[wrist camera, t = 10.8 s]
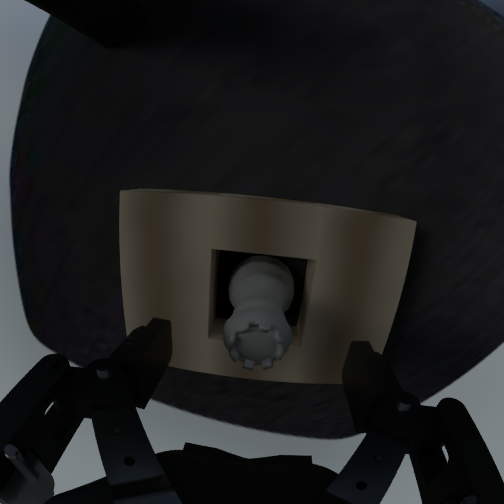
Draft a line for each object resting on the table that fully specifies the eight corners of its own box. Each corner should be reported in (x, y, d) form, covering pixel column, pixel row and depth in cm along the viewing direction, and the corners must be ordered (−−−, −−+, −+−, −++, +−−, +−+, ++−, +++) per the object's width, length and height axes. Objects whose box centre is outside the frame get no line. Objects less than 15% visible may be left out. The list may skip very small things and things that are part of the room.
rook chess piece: (273, 322, 20) (273, 398, 12) (219, 294, 20) (190, 360, 12) (306, 272, 19) (327, 332, 11) (248, 241, 19) (233, 284, 11)
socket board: (396, 215, 17) (416, 221, 15) (360, 360, 21) (370, 383, 18) (141, 188, 18) (120, 190, 15) (144, 337, 21) (130, 357, 18)
